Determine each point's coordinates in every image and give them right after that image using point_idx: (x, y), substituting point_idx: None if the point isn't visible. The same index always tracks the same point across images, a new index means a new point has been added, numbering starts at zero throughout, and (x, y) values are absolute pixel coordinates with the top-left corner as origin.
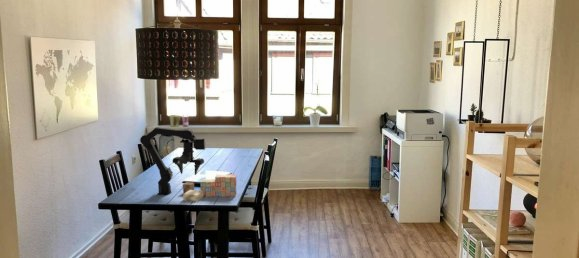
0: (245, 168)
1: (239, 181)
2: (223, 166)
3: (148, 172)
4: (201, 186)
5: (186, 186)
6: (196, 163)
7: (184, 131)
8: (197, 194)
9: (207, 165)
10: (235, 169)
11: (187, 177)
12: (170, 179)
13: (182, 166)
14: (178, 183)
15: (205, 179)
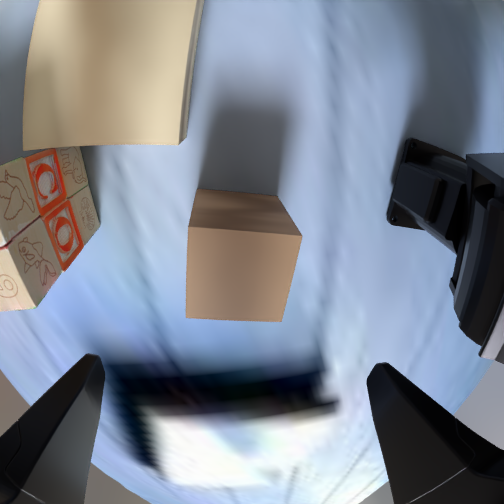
0: (147, 493)
1: None
2: (225, 499)
3: None
4: (12, 161)
5: (248, 220)
6: None
7: None
8: (42, 16)
9: (278, 496)
10: (172, 492)
11: (324, 441)
12: (480, 204)
13: (398, 487)
14: (358, 383)
15: (2, 305)
